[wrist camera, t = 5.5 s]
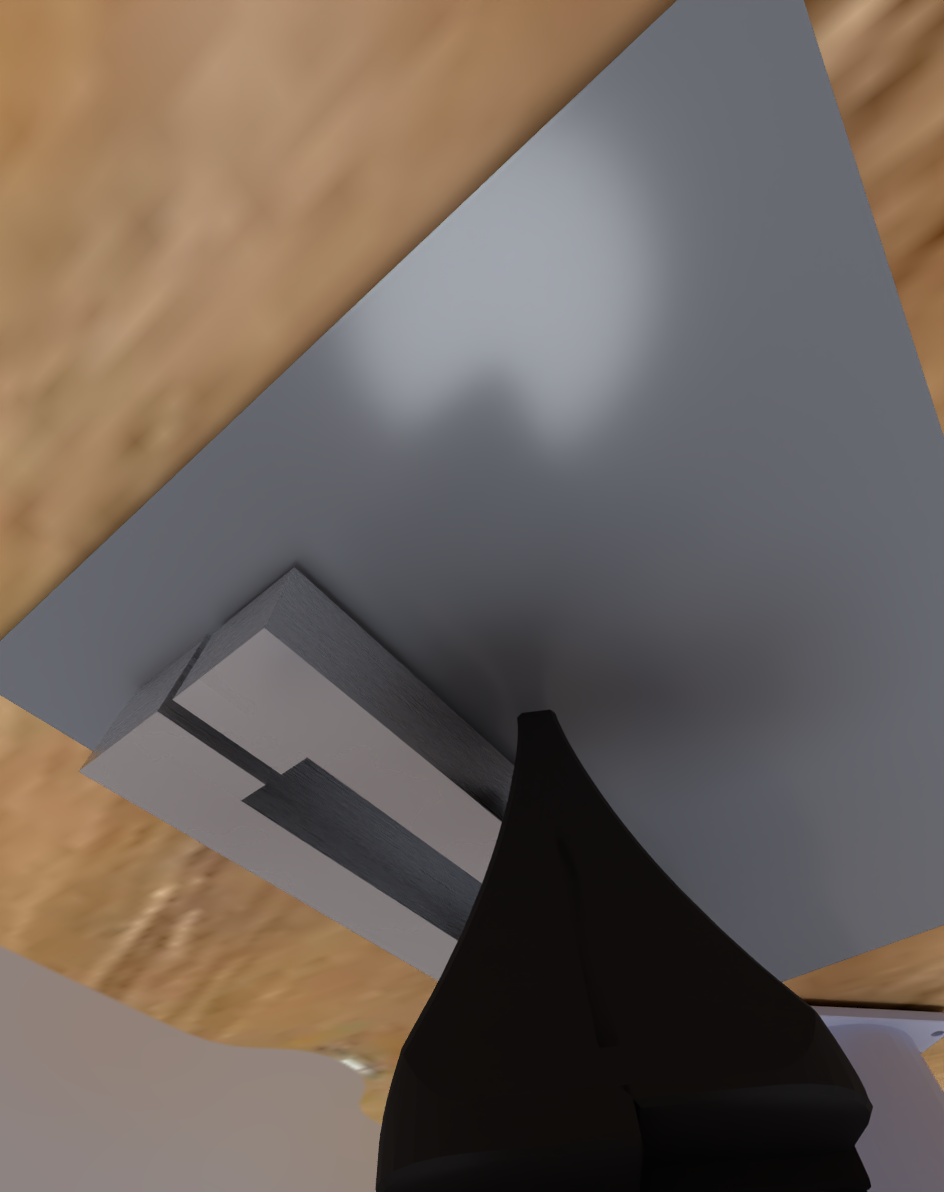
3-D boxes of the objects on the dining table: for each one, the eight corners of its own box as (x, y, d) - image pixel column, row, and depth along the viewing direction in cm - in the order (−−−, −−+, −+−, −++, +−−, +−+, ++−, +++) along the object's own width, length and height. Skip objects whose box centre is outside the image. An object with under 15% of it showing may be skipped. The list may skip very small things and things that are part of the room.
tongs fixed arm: (619, 955, 19) (640, 1040, 17) (559, 978, 20) (572, 1063, 18) (207, 632, 12) (155, 713, 10) (136, 689, 12) (73, 776, 10)
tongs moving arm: (764, 988, 20) (796, 1061, 18) (650, 1028, 21) (668, 1100, 19) (299, 562, 11) (267, 626, 9) (148, 684, 12) (94, 761, 10)
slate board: (1055, 845, 18) (1084, 875, 17) (581, 1021, 23) (586, 1050, 23) (736, -52, 7) (774, -92, 7) (-3, 645, 13) (-35, 674, 12)
